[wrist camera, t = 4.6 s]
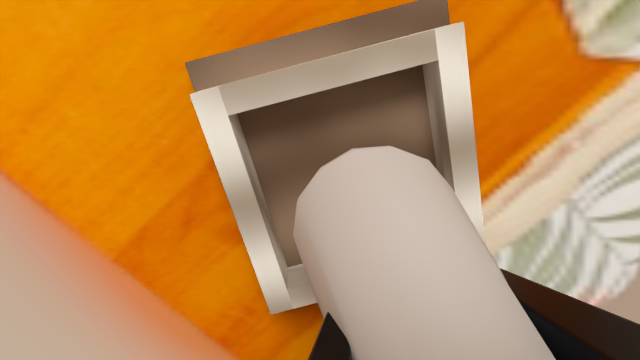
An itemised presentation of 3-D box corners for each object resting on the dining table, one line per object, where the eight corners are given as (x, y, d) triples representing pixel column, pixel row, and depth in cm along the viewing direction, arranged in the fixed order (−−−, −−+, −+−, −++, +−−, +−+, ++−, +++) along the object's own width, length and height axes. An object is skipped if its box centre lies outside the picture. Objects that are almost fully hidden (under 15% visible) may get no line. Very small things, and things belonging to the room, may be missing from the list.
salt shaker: (299, 267, 15) (318, 1067, 3) (285, 139, 14) (206, 901, 1) (429, 253, 16) (915, 949, 3) (434, 126, 14) (1553, 665, 2)
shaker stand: (467, 248, 21) (494, 278, 18) (275, 298, 21) (272, 335, 18) (437, -4, 16) (467, -17, 14) (190, 62, 17) (169, 63, 14)
